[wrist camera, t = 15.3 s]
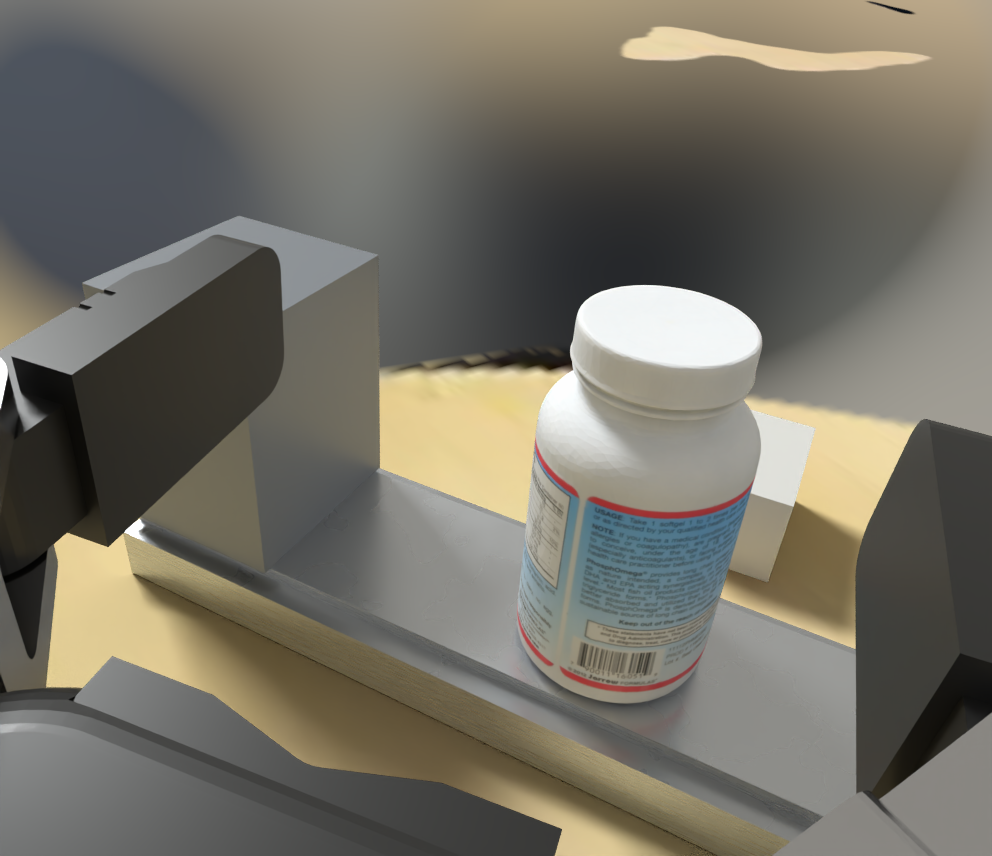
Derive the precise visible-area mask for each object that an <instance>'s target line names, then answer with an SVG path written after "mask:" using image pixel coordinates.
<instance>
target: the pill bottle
mask: <svg viewBox="0 0 992 856" xmlns="http://www.w3.org/2000/svg"><path fill="white" fill-rule="evenodd" d="M761 348H762V337H761V334H760V331H759V330H758V328H757V326H756V324H755V323H754V322H753V321H752V320H751V319H750V318H749V317H748V316H746V315H745V314H744V313H743V312H741V311H740V310H738V309H737V308H735V307H733V306H731V305H729V304H727V303H725V302H723V301H720V300H718V299H716V298H713V297H711V296H708V295H705V294H702V293H698V292H694V291H690V290H685V289H680V288H673V287H666V286H654V285H635V286H625V287H619V288H613V289H609V290H606V291H602V292H600V293H598V294H595V295H593V296H592V297H590V298H589V299H588V300H586V301H585V302H584V303H583V305H582V306H581V307H580V309H579V311H578V315H577V319H576V324H575V331H574V338H573V342H572V344H571V348H570V354H571V359H572V365H573V371H571V372H569V373H568V374H567V375H565V376H564V377H563V378H561V379H560V380H559V381H558V382H557V383H556V384H555V385H554V386H553V387H552V388H551V390H550V391H549V392H548V394H547V395H546V397H545V399H544V401H543V403H542V406H541V408H540V412H539V416H538V422H537V429H536V438H535V446H534V455H533V465H532V474H531V483H530V493H529V503H528V512H527V520H526V529H525V540H524V550H523V559H522V568H521V577H520V586H519V596H518V604H517V626H518V632H519V636H520V639H521V642H522V644H523V647H524V648H525V650H526V652H527V654H528V655H529V657H530V658H531V660H532V661H533V662H534V663H535V664H536V666H537V667H538V668H539V669H540V670H541V671H542V672H543V673H545V674H546V675H547V676H548V677H549V678H550V679H552V680H553V681H555V682H556V683H558V684H559V685H561V686H563V687H564V688H566V689H568V690H570V691H572V692H574V693H577V694H579V695H582V696H585V697H588V698H591V699H595V700H599V701H604V702H611V703H639V702H646V701H650V700H654V699H657V698H660V697H662V696H664V695H666V694H668V693H670V692H672V691H673V690H675V689H676V688H678V687H679V686H680V685H682V684H683V683H684V682H685V681H686V680H687V679H688V678H689V677H690V676H691V674H692V673H693V672H694V670H695V669H696V667H697V665H698V663H699V661H700V659H701V657H702V654H703V651H704V649H705V646H706V643H707V639H708V636H709V633H710V630H711V626H712V623H713V620H714V616H715V613H716V609H717V606H718V602H719V599H720V596H721V592H722V589H723V585H724V582H725V579H726V575H727V572H728V568H729V565H730V561H731V558H732V555H733V551H734V548H735V544H736V541H737V538H738V534H739V531H740V527H741V524H742V520H743V517H744V514H745V510H746V506H747V503H748V500H749V496H750V493H751V490H752V486H753V483H754V479H755V476H756V472H757V468H758V464H759V460H760V454H761V438H760V432H759V428H758V425H757V422H756V419H755V417H754V415H753V413H752V412H751V410H750V408H749V407H748V405H747V404H746V403H745V402H744V399H745V398H746V396H747V394H748V392H749V391H750V390H751V388H752V386H753V385H754V382H755V372H756V368H757V364H758V361H759V357H760V352H761Z"/></svg>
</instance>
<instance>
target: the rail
mask: <svg viewBox="0 0 992 856" xmlns="http://www.w3.org/2000/svg"><path fill="white" fill-rule="evenodd" d="M525 529H526V524H524V523H522V522H519V521H516V520H514V519H511V518H509V517H506V516H503V515H501V514H498V513H495V512H493V511H490V510H488V509H485V508H482V507H480V506H477V505H474V504H472V503H469V502H467V501H464V500H461V499H459V498H456V497H453V496H451V495H448V494H445V493H443V492H440V491H438V490H435V489H432V488H430V487H427V486H424V485H422V484H419V483H417V482H414V481H411V480H409V479H406V478H403V477H401V476H398V475H395V474H393V473H390V472H388V471H385V470H382V469H380V468H379V469H378V470H377V471H375V472H374V473H373V474H372V475H371V476H370V477H369V478H368V479H367V480H366V481H365V482H364V483H362V484H361V485H360V486H359V487H358V488H357V489H356V490H355V491H354V492H353V493H352V494H351V495H349V496H348V497H347V498H346V499H345V500H344V501H343V502H342V503H341V504H340V505H339V506H338V507H336V508H335V509H334V510H333V511H332V512H331V513H330V514H329V515H328V516H327V517H326V518H325V519H323V520H322V521H321V522H320V523H319V524H318V525H317V526H316V527H315V528H314V529H313V530H312V531H310V532H309V533H308V534H307V535H306V536H305V537H304V538H303V539H302V540H301V541H300V542H299V543H297V544H296V545H295V546H294V547H293V548H292V549H291V550H290V551H289V552H288V553H287V554H286V555H284V556H283V557H282V558H281V559H280V560H279V561H278V562H277V563H276V564H275V565H274V566H273V567H271V568H270V569H269V570H268V571H267V572H266V573H262V572H260V571H258V570H256V569H254V568H251V567H249V566H247V565H245V564H243V563H240V562H238V561H236V560H234V559H232V558H229V557H227V556H225V555H223V554H220V553H218V552H216V551H214V550H212V549H209V548H207V547H205V546H203V545H201V544H198V543H196V542H194V541H192V540H190V539H187V538H185V537H183V536H181V535H179V534H176V533H174V532H172V531H170V530H167V529H165V528H163V527H161V526H159V525H156V524H154V523H152V522H150V521H148V520H145V519H143V518H141V517H140V519H139V520H138V521H137V522H135V523H134V524H133V525H131V526H130V527H129V528H128V529H127V530H126V531H125V532H124V533H123V534H124V539H125V543H126V547H127V552H128V556H129V561H130V565H131V570H132V573H134V574H136V575H139V576H141V577H143V578H145V579H147V580H149V581H151V582H153V583H155V584H157V585H159V586H161V587H163V588H165V589H167V590H170V591H172V592H174V593H176V594H178V595H180V596H182V597H184V598H186V599H188V600H190V601H192V602H194V603H196V604H198V605H201V606H203V607H205V608H207V609H209V610H211V611H213V612H215V613H217V614H219V615H221V616H223V617H225V618H227V619H229V620H232V621H234V622H236V623H238V624H240V625H242V626H244V627H246V628H248V629H250V630H252V631H254V632H256V633H258V634H260V635H263V636H265V637H267V638H269V639H271V640H273V641H275V642H277V643H279V644H281V645H283V646H285V647H287V648H289V649H292V650H294V651H296V652H298V653H300V654H302V655H304V656H306V657H308V658H310V659H312V660H314V661H316V662H318V663H320V664H323V665H325V666H327V667H329V668H331V669H333V670H335V671H337V672H339V673H341V674H343V675H345V676H347V677H349V678H351V679H354V680H356V681H358V682H360V683H362V684H364V685H366V686H368V687H370V688H372V689H374V690H376V691H378V692H380V693H382V694H385V695H387V696H389V697H391V698H393V699H395V700H397V701H399V702H401V703H403V704H405V705H407V706H409V707H411V708H414V709H416V710H418V711H420V712H422V713H424V714H426V715H428V716H430V717H432V718H434V719H436V720H438V721H440V722H442V723H445V724H447V725H449V726H451V727H453V728H455V729H457V730H459V731H461V732H463V733H465V734H467V735H469V736H471V737H473V738H476V739H478V740H480V741H482V742H484V743H486V744H488V745H490V746H492V747H494V748H496V749H498V750H500V751H502V752H504V753H507V754H509V755H511V756H513V757H515V758H517V759H519V760H521V761H523V762H525V763H527V764H529V765H531V766H533V767H535V768H538V769H540V770H542V771H544V772H546V773H548V774H550V775H552V776H554V777H556V778H558V779H560V780H562V781H564V782H567V783H569V784H571V785H573V786H575V787H577V788H579V789H581V790H583V791H585V792H587V793H589V794H591V795H593V796H595V797H598V798H600V799H602V800H604V801H606V802H608V803H610V804H612V805H614V806H616V807H618V808H620V809H622V810H624V811H626V812H629V813H631V814H633V815H635V816H637V817H639V818H641V819H643V820H645V821H647V822H649V823H651V824H653V825H655V826H657V827H660V828H662V829H664V830H666V831H668V832H670V833H672V834H674V835H676V836H678V837H680V838H682V839H684V840H686V841H689V842H691V843H693V844H695V845H697V846H699V847H701V848H703V849H705V850H707V851H709V852H711V853H713V854H715V855H717V856H772V855H773V854H775V853H776V852H777V851H779V850H780V849H781V848H783V847H784V846H785V845H787V844H788V843H789V842H791V841H792V840H793V839H795V838H796V837H797V836H799V835H800V834H801V833H803V832H804V831H805V830H807V829H808V828H809V827H811V826H812V825H813V824H815V823H816V822H817V821H819V820H820V819H821V818H823V817H824V816H825V815H827V814H828V813H829V812H831V811H832V810H833V809H835V808H836V807H837V806H839V805H840V804H841V803H843V802H844V801H846V800H847V799H849V798H850V797H852V796H854V795H855V794H856V649H853V648H851V647H848V646H845V645H843V644H840V643H837V642H835V641H832V640H829V639H827V638H824V637H822V636H819V635H816V634H814V633H811V632H808V631H806V630H803V629H801V628H798V627H795V626H793V625H790V624H787V623H785V622H782V621H780V620H777V619H774V618H772V617H769V616H766V615H764V614H761V613H758V612H756V611H753V610H751V609H748V608H745V607H743V606H740V605H737V604H735V603H732V602H730V601H727V600H724V599H722V598H720V599H719V602H718V606H717V609H716V613H715V616H714V620H713V623H712V626H711V630H710V633H709V636H708V639H707V643H706V646H705V649H704V651H703V654H702V657H701V659H700V661H699V663H698V665H697V667H696V669H695V670H694V672H693V673H692V674H691V676H690V677H689V678H688V679H687V680H686V681H685V682H684V683H683V684H682V685H680V686H679V687H678V688H676V689H675V690H673V691H672V692H670V693H668V694H666V695H664V696H662V697H660V698H657V699H654V700H650V701H646V702H639V703H611V702H604V701H599V700H595V699H591V698H588V697H585V696H582V695H579V694H577V693H574V692H572V691H570V690H568V689H566V688H564V687H563V686H561V685H559V684H558V683H556V682H555V681H553V680H552V679H550V678H549V677H548V676H547V675H546V674H545V673H543V672H542V671H541V670H540V669H539V668H538V667H537V666H536V664H535V663H534V662H533V661H532V660H531V658H530V657H529V655H528V654H527V652H526V650H525V648H524V647H523V644H522V642H521V639H520V636H519V632H518V626H517V604H518V596H519V586H520V577H521V568H522V559H523V550H524V540H525Z"/></svg>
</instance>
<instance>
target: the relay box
mask: <svg viewBox="0 0 992 856" xmlns="http://www.w3.org/2000/svg"><path fill="white" fill-rule="evenodd" d="M751 412H752V413H753V415H754V417H755V419H756V422H757V425H758V428H759V432H760V438H761V454H760V460H759V464H758V468H757V472H756V476H755V479H754V483H753V486H752V490H751V493H750V496H749V500H748V503H747V506H746V510H745V514H744V517H743V520H742V524H741V527H740V531H739V534H738V538H737V541H736V544H735V548H734V551H733V555H732V558H731V561H730V565H729V568H728V569H729V570H732V571H735V572H738V573H741V574H744V575H747V576H750V577H753V578H756V579H759V580H762V581H764V582H767V583H768V580H769V578H770V575H771V572H772V569H773V566H774V563H775V560H776V557H777V554H778V551H779V548H780V545H781V542H782V539H783V536H784V534H785V531H786V528H787V525H788V522H789V519H790V516H791V513H792V510H793V507H794V504H795V500H796V496H797V493H798V489H799V486H800V482H801V478H802V475H803V471H804V468H805V464H806V461H807V457H808V453H809V450H810V446H811V443H812V439H813V435H814V432H815V428H813V427H810V426H806V425H803V424H799V423H796V422H792V421H789V420H785V419H781V418H778V417H774V416H771V415H767V414H764V413H760V412H757V411H753V410H751Z"/></svg>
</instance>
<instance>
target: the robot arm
mask: <svg viewBox="0 0 992 856" xmlns="http://www.w3.org/2000/svg"><path fill="white" fill-rule="evenodd" d="M283 362H284V334H283V310H282V286H281V268H280V262H279V258H278V256H277V254H276V252H275V251H274V250H273V249H271V248H269V247H266V246H262V245H258V244H254V243H250V242H247V241H243V240H239V239H235V238H231V237H227V236H223V235H218V234H217V235H213V236H210V237H208V238H207V239H205V240H203V241H202V242H200V243H199V244H197V245H195V246H194V247H192V248H190V249H189V250H187V251H185V252H184V253H182V254H180V255H179V256H177V257H175V258H174V259H172V260H170V261H169V262H166V263H162V264H159V265H155V266H152V267H148V268H145V269H142V270H138V271H135V272H132V273H131V274H129V275H127V276H126V277H124V278H122V279H120V280H119V281H117V282H115V283H114V284H112V285H110V286H109V287H107V288H105V289H104V293H103V294H101V293H97V294H95V295H93V296H92V297H90V298H88V299H86V300H85V301H83V302H81V303H80V306H79V308H75V307H73V308H71V309H69V310H68V311H66V312H64V313H63V314H61V315H59V316H57V317H56V318H54V319H53V320H51V321H49V322H47V323H45V324H44V325H42V326H40V327H39V328H37V329H35V330H34V331H32V332H30V333H28V334H27V335H25V336H24V337H22V338H20V339H18V340H17V341H15V342H13V343H12V344H10V345H8V346H6V347H5V348H3V349H1V350H0V856H555V853H556V849H557V846H558V842H559V838H560V835H561V831H562V829H560V828H558V827H555V826H552V825H550V824H547V823H545V822H542V821H539V820H537V819H534V818H532V817H529V816H526V815H524V814H521V813H519V812H516V811H513V810H511V809H508V808H506V807H503V806H500V805H498V804H495V803H493V802H490V801H487V800H485V799H482V798H480V797H477V796H474V795H472V794H469V793H467V792H464V791H461V790H459V789H456V788H454V787H451V786H448V785H446V784H443V783H439V782H431V781H423V780H415V779H407V778H399V777H391V776H383V775H375V774H367V773H359V772H351V771H344V770H336V769H328V768H320V767H315V766H311V765H309V764H306V763H304V762H302V761H301V760H299V759H297V758H296V757H295V756H293V755H292V754H291V753H289V752H288V751H287V750H285V749H284V748H283V747H281V746H280V745H279V744H277V743H276V742H275V741H273V740H272V739H271V738H269V737H268V736H267V735H265V734H264V733H263V732H261V731H260V730H259V729H257V728H256V727H255V726H253V725H252V724H251V723H249V722H248V721H247V720H246V719H244V718H243V717H242V716H240V715H239V714H238V713H236V712H235V711H234V710H232V709H231V708H230V707H228V706H227V705H226V704H224V703H223V702H222V701H220V700H219V699H218V698H216V697H215V696H214V695H212V694H209V693H207V692H204V691H201V690H199V689H196V688H194V687H191V686H188V685H186V684H183V683H181V682H178V681H175V680H173V679H170V678H168V677H165V676H162V675H160V674H157V673H155V672H152V671H149V670H147V669H144V668H142V667H139V666H136V665H134V664H131V663H129V662H126V661H123V660H121V659H118V658H116V657H113V656H112V657H111V658H110V659H109V660H108V661H107V662H106V664H105V665H104V666H103V667H102V668H101V669H100V670H99V671H98V672H97V673H96V674H95V675H94V677H93V678H92V679H91V680H90V681H89V682H88V683H87V684H86V685H85V686H84V687H83V688H58V687H47V688H46V681H47V670H48V660H49V650H50V639H51V629H52V619H53V609H54V599H55V589H56V578H57V568H58V561H57V556H56V552H55V548H54V545H53V544H54V543H55V542H57V541H58V540H59V539H60V538H61V537H62V536H63V535H65V534H66V533H70V534H73V535H76V536H78V537H81V538H84V539H87V540H90V541H93V542H95V543H98V544H101V545H104V546H107V547H109V546H110V545H111V544H112V543H113V542H114V541H115V540H116V539H117V538H118V537H119V536H121V535H122V534H123V533H124V532H125V531H126V530H127V529H128V528H129V527H130V526H131V525H132V524H133V523H134V522H135V521H137V520H138V519H139V518H140V517H141V516H142V515H143V514H144V513H145V512H146V511H147V510H148V509H149V508H150V507H152V506H153V505H154V504H155V503H156V502H157V501H158V500H159V499H160V498H161V497H162V496H163V495H164V494H165V493H166V492H168V491H169V490H170V489H171V488H172V487H173V486H174V485H175V484H176V483H177V482H178V481H179V480H180V479H181V478H182V477H184V476H185V475H186V474H187V473H188V472H189V471H190V470H191V469H192V468H193V467H194V466H195V465H196V464H197V463H199V462H200V461H201V460H202V459H203V458H204V457H205V456H206V455H207V454H208V453H209V452H210V451H211V450H212V449H213V448H215V447H216V446H217V445H218V444H219V443H220V442H221V441H222V440H223V439H224V438H225V437H226V436H227V435H228V434H229V433H231V432H232V431H233V430H234V429H235V428H236V427H237V426H238V425H239V424H240V423H241V422H242V421H243V420H244V419H246V418H247V417H248V416H249V415H250V414H251V413H252V412H253V411H254V410H255V409H256V408H257V407H258V406H259V405H260V404H262V403H263V402H264V401H265V400H266V399H267V398H268V397H269V396H270V394H271V393H272V392H273V390H274V388H275V387H276V385H277V383H278V380H279V378H280V375H281V371H282V368H283ZM772 856H992V436H989V435H986V434H982V433H978V432H973V431H970V430H966V429H962V428H958V427H954V426H951V425H947V424H943V423H939V422H935V421H931V420H928V419H923V420H922V421H920V422H919V423H918V425H917V426H916V427H915V429H914V430H913V432H912V434H911V436H910V438H909V440H908V442H907V444H906V446H905V448H904V450H903V452H902V454H901V456H900V458H899V461H898V463H897V465H896V467H895V469H894V471H893V473H892V475H891V477H890V479H889V481H888V483H887V485H886V488H885V490H884V492H883V494H882V496H881V498H880V500H879V502H878V504H877V506H876V508H875V510H874V513H873V515H872V517H871V519H870V521H869V523H868V525H867V528H866V531H865V533H864V536H863V539H862V543H861V546H860V550H859V554H858V559H857V565H856V794H855V795H854V796H852V797H850V798H849V799H847V800H846V801H844V802H843V803H841V804H840V805H839V806H837V807H836V808H835V809H833V810H832V811H831V812H829V813H828V814H827V815H825V816H824V817H823V818H821V819H820V820H819V821H817V822H816V823H815V824H813V825H812V826H811V827H809V828H808V829H807V830H805V831H804V832H803V833H801V834H800V835H799V836H797V837H796V838H795V839H793V840H792V841H791V842H789V843H788V844H787V845H785V846H784V847H783V848H781V849H780V850H779V851H777V852H776V853H775V854H773V855H772Z"/></svg>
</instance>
